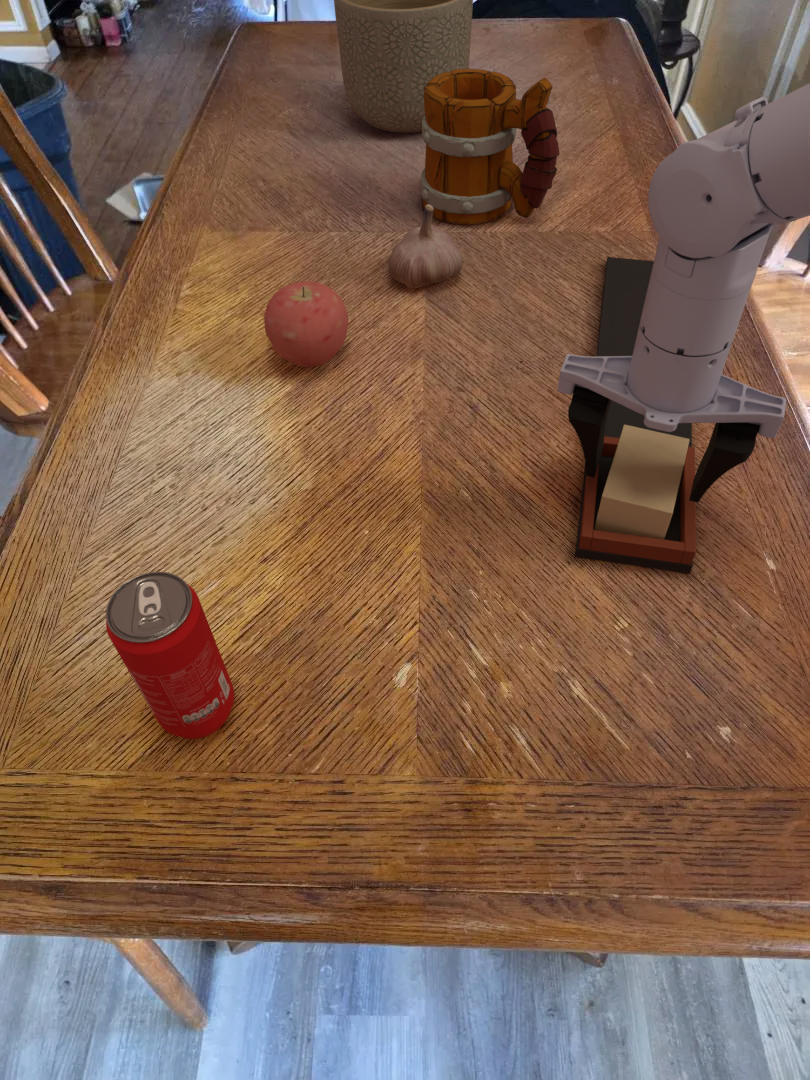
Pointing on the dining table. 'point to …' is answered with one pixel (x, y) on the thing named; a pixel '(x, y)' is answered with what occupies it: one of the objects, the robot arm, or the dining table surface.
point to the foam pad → (642, 483)
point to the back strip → (618, 339)
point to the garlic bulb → (425, 255)
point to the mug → (485, 146)
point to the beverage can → (171, 653)
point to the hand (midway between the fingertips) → (643, 479)
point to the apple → (306, 323)
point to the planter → (399, 55)
